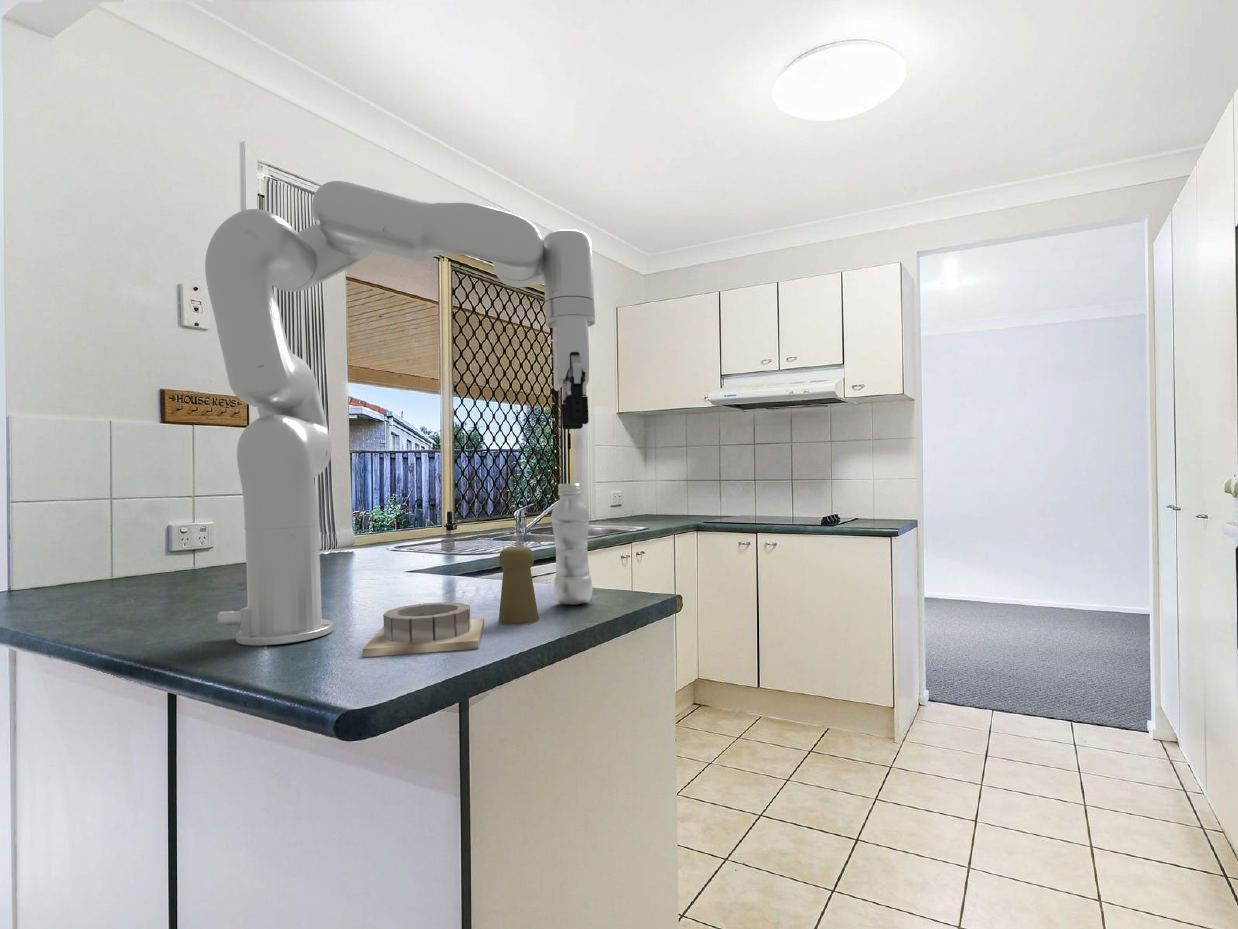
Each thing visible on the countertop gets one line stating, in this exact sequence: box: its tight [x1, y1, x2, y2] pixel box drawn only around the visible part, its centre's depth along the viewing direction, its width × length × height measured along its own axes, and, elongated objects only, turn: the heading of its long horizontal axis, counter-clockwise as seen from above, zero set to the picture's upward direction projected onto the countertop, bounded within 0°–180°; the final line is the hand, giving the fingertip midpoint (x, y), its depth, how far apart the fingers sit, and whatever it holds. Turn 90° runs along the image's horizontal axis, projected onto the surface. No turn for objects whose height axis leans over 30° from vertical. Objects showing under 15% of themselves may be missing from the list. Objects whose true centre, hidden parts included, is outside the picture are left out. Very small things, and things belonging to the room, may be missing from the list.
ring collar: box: [362, 601, 485, 658], centre depth 94 cm, size 14×14×4 cm
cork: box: [498, 545, 540, 626], centre depth 104 cm, size 6×6×11 cm
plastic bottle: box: [550, 483, 594, 606], centre depth 116 cm, size 6×7×20 cm
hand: (575, 426), depth 106 cm, fingers open, 9 cm apart
